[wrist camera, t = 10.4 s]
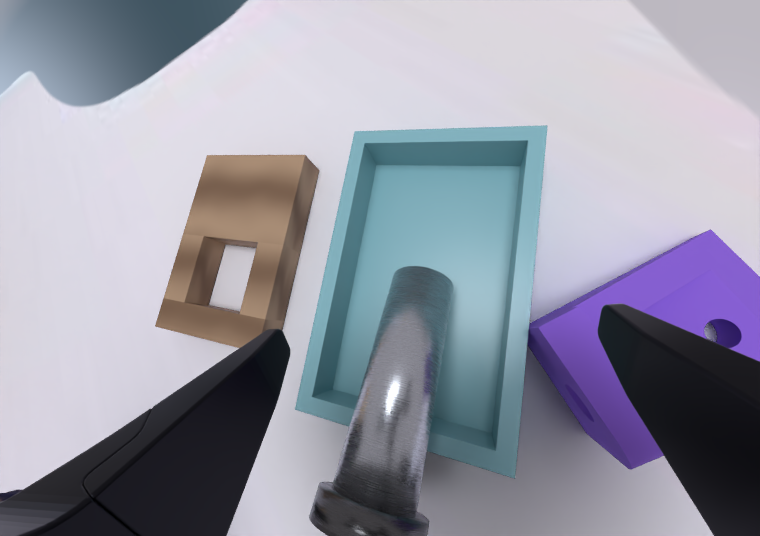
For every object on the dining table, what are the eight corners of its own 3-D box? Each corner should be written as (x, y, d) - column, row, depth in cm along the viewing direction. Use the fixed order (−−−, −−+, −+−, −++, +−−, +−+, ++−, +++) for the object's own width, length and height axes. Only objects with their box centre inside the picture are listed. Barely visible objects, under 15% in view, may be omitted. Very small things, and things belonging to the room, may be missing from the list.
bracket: (584, 431, 18) (647, 484, 12) (517, 330, 20) (538, 327, 14) (790, 337, 16) (998, 338, 10) (692, 237, 19) (808, 186, 12)
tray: (506, 450, 19) (514, 478, 15) (323, 397, 23) (295, 409, 19) (534, 161, 22) (547, 125, 18) (371, 160, 26) (354, 131, 22)
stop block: (277, 350, 25) (257, 352, 22) (181, 327, 28) (155, 326, 26) (319, 170, 27) (305, 155, 25) (227, 168, 31) (207, 155, 29)
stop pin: (434, 309, 22) (392, 526, 16) (373, 280, 21) (300, 503, 15) (481, 286, 18) (448, 574, 11) (406, 249, 17) (324, 545, 10)
